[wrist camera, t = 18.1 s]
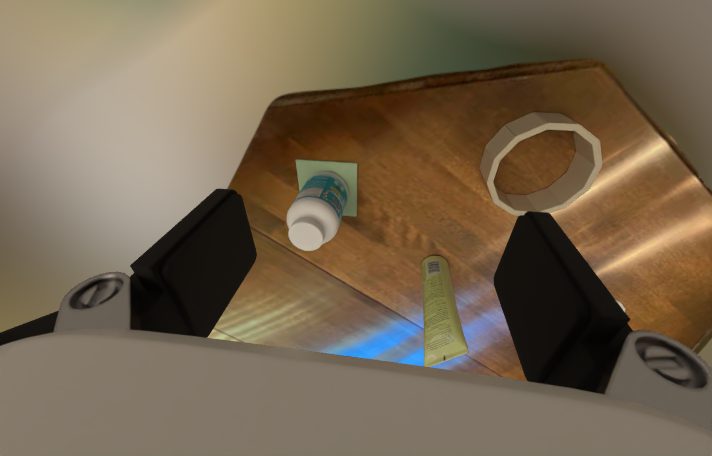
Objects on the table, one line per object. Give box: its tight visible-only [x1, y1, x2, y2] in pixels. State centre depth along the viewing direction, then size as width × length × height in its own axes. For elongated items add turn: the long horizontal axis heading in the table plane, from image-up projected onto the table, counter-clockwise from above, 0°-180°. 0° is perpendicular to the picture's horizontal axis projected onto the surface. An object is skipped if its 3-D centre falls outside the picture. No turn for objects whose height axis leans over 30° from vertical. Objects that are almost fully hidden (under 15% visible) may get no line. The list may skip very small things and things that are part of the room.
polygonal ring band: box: [479, 112, 602, 215], centre depth 39 cm, size 13×13×5 cm
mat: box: [296, 159, 357, 217], centre depth 48 cm, size 10×10×1 cm
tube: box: [422, 256, 469, 367], centre depth 47 cm, size 6×5×20 cm
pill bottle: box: [287, 171, 348, 251], centre depth 43 cm, size 8×7×14 cm
